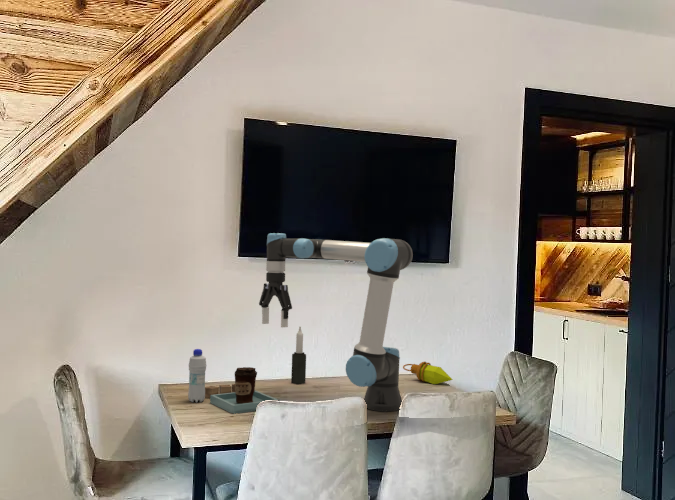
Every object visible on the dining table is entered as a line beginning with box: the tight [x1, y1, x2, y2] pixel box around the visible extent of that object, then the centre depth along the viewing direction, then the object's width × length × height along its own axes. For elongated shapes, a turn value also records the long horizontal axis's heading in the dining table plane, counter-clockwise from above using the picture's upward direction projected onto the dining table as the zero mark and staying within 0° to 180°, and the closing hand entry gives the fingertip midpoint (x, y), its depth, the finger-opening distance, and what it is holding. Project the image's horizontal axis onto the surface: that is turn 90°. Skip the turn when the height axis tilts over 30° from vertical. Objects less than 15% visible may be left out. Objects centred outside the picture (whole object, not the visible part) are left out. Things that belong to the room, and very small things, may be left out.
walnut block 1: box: [205, 385, 219, 399], centre depth 265 cm, size 4×4×4 cm
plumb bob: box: [402, 361, 453, 385], centre depth 308 cm, size 9×9×25 cm
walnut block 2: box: [218, 384, 232, 394], centre depth 268 cm, size 4×4×4 cm
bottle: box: [187, 348, 207, 404], centre depth 257 cm, size 7×7×20 cm
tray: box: [209, 389, 280, 415], centre depth 253 cm, size 19×19×3 cm
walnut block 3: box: [231, 383, 235, 393], centre depth 272 cm, size 4×4×4 cm
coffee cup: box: [234, 366, 258, 404], centre depth 253 cm, size 9×8×13 cm
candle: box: [290, 326, 307, 385], centre depth 297 cm, size 5×5×25 cm
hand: (274, 325), depth 268 cm, fingers open, 13 cm apart
